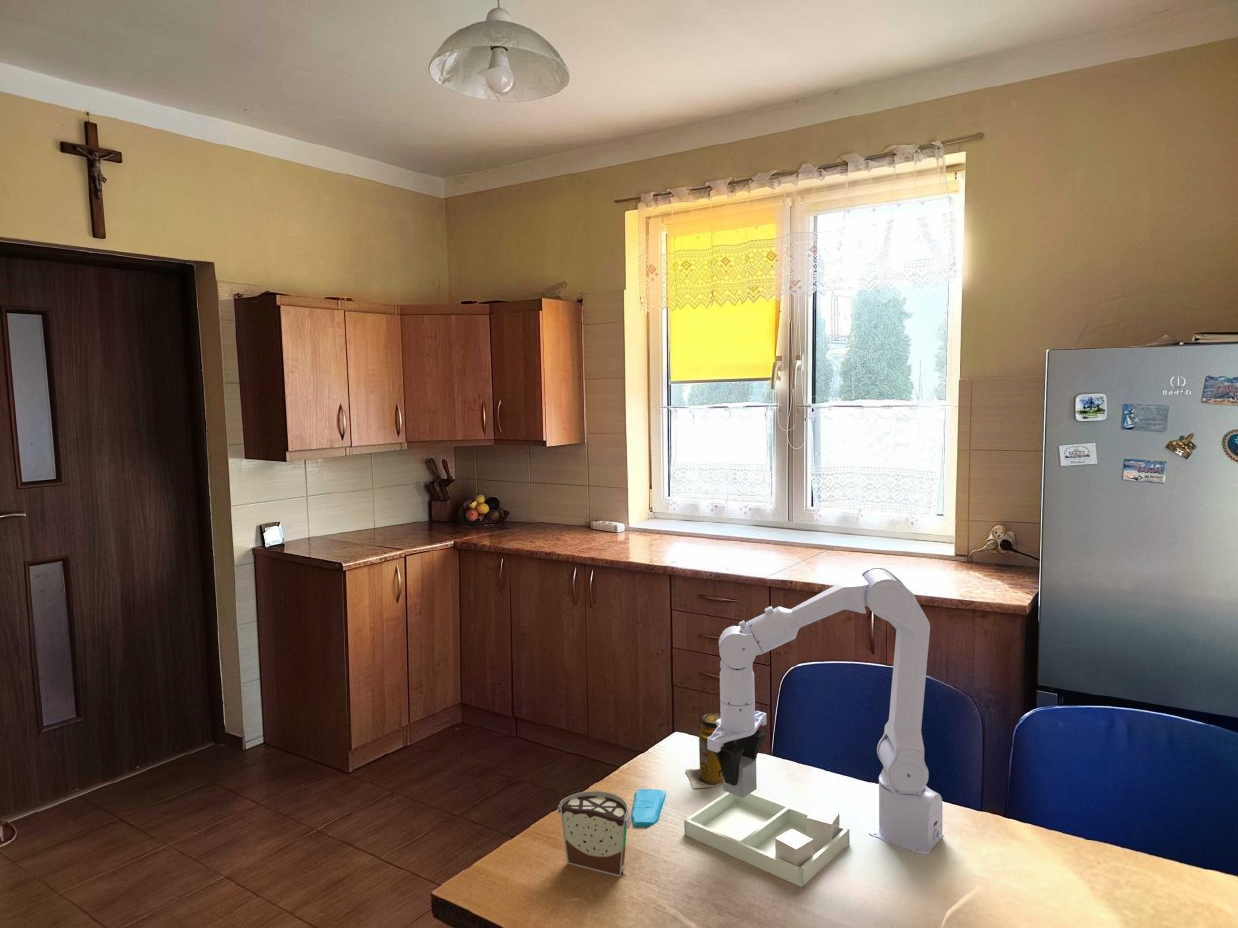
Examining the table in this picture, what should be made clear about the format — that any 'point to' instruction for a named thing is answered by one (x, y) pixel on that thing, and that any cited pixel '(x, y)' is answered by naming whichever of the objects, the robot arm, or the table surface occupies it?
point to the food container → (595, 830)
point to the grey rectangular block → (743, 778)
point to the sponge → (647, 807)
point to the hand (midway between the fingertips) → (738, 778)
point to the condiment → (706, 757)
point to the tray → (759, 834)
